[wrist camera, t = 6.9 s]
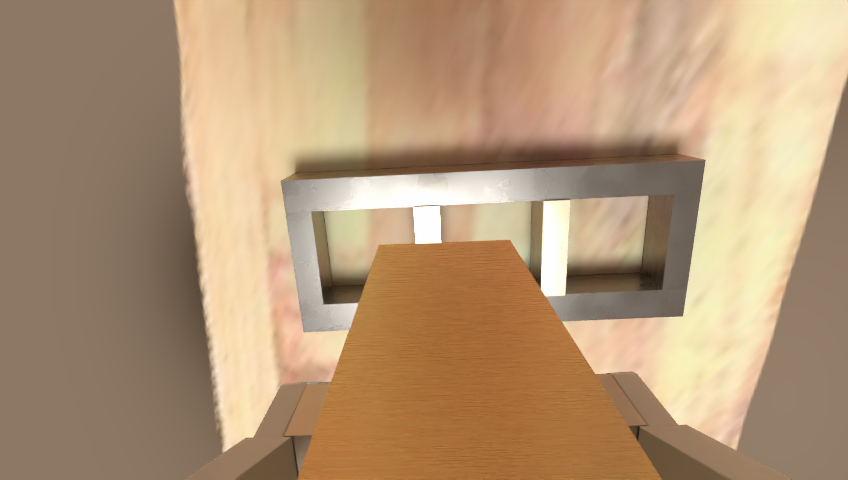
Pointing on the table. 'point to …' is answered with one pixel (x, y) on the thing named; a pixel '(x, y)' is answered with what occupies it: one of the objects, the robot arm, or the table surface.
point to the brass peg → (465, 379)
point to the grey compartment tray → (550, 194)
